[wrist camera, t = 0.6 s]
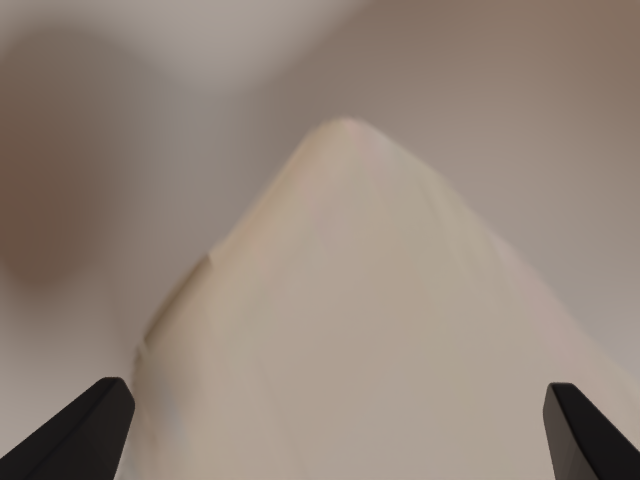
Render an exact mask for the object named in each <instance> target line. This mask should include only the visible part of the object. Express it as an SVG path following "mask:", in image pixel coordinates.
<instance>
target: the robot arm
mask: <svg viewBox="0 0 640 480" xmlns="http://www.w3.org/2000/svg"><path fill="white" fill-rule="evenodd" d="M134 410H135V401H134V398H133V396H132V394H131V393H130V391H129V389H128V387H127V385H126V383H125V382H124V380H123V379H122V378H120V377H105V378H102V379H100V380H99V381H97V382H96V383H95V384H94V385H93V386H91V387H90V388H89V389H87V390H86V391H85V392H84V393H82V394H81V395H80V396H79V397H77V398H76V399H75V400H74V401H72V402H71V403H70V404H69V405H67V406H66V407H65V408H64V409H62V410H61V411H60V412H59V413H57V414H56V415H55V416H54V417H52V418H51V419H50V420H49V421H47V422H46V423H45V424H44V425H42V426H41V427H40V428H39V429H37V430H36V431H35V432H33V433H32V434H31V435H30V436H29V437H27V438H26V439H25V440H24V441H22V442H21V443H20V444H19V445H17V446H16V447H15V448H13V449H12V450H11V451H10V452H9V453H7V454H6V455H5V456H3V457H2V458H1V459H0V480H113V479H114V477H115V474H116V471H117V468H118V464H119V461H120V458H121V454H122V451H123V448H124V444H125V441H126V438H127V434H128V431H129V427H130V424H131V421H132V417H133V414H134ZM543 420H544V425H545V430H546V435H547V440H548V445H549V450H550V455H551V459H552V464H553V469H554V474H555V479H556V480H640V452H639V451H638V450H637V449H636V448H635V447H634V446H633V445H632V443H631V442H630V441H629V440H628V439H627V438H626V437H625V436H624V435H623V434H622V433H621V432H620V431H619V430H618V429H617V428H616V427H615V426H614V425H613V424H612V423H611V422H610V421H609V420H608V419H607V418H606V417H605V416H604V415H603V414H602V413H601V412H600V411H599V410H598V408H597V407H596V406H595V405H594V404H593V403H592V402H591V401H590V400H589V399H588V398H587V397H586V396H585V395H584V394H583V393H582V392H581V391H580V390H579V389H578V388H577V387H576V386H575V385H574V384H572V383H559V382H553V383H550V384H549V385H548V387H547V392H546V397H545V402H544V406H543Z"/></svg>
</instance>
